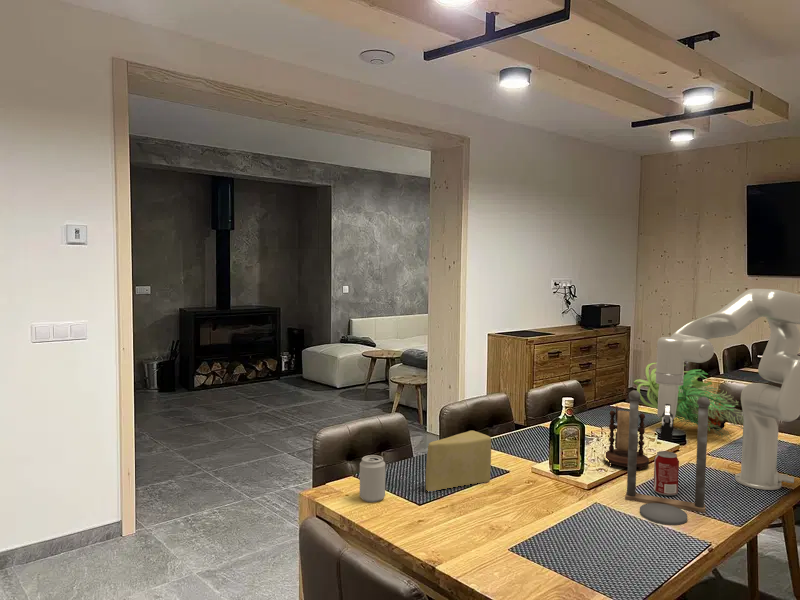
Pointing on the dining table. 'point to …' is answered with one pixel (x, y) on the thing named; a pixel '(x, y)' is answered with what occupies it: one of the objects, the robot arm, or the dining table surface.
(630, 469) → the gate
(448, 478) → the cheese
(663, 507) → the coaster
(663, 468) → the soda can
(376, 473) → the can
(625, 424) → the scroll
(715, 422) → the plant
